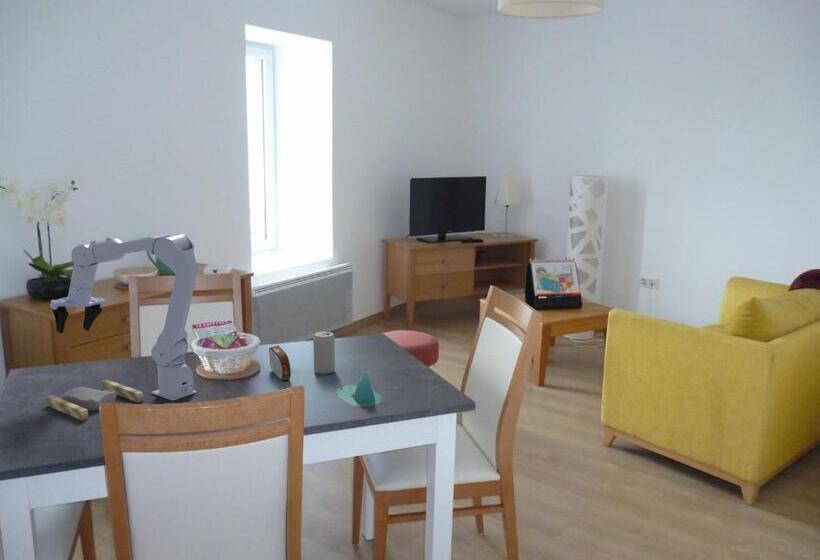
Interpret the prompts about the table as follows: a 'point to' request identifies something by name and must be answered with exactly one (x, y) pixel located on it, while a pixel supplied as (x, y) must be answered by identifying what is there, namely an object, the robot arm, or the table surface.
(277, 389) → the table surface
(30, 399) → the table surface
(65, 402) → the pair of wooden posts
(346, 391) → the diorama
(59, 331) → the robot arm
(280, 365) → the bread slice
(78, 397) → the stone block
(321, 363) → the beverage can
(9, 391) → the table surface
